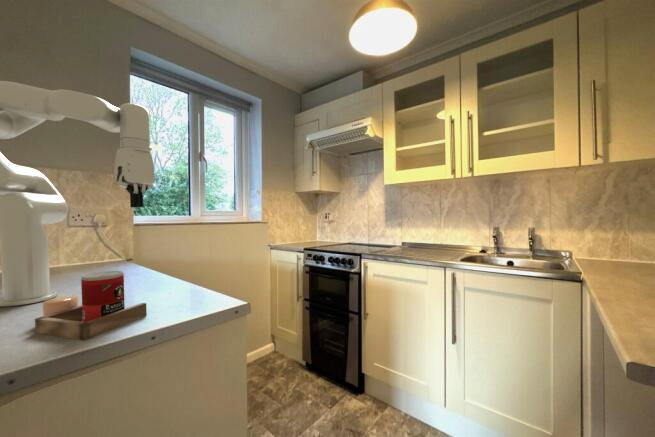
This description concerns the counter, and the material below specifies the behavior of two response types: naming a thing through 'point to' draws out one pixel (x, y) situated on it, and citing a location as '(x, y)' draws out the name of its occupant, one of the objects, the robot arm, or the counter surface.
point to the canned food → (102, 294)
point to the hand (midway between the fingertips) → (136, 207)
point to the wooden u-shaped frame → (71, 327)
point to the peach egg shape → (59, 304)
